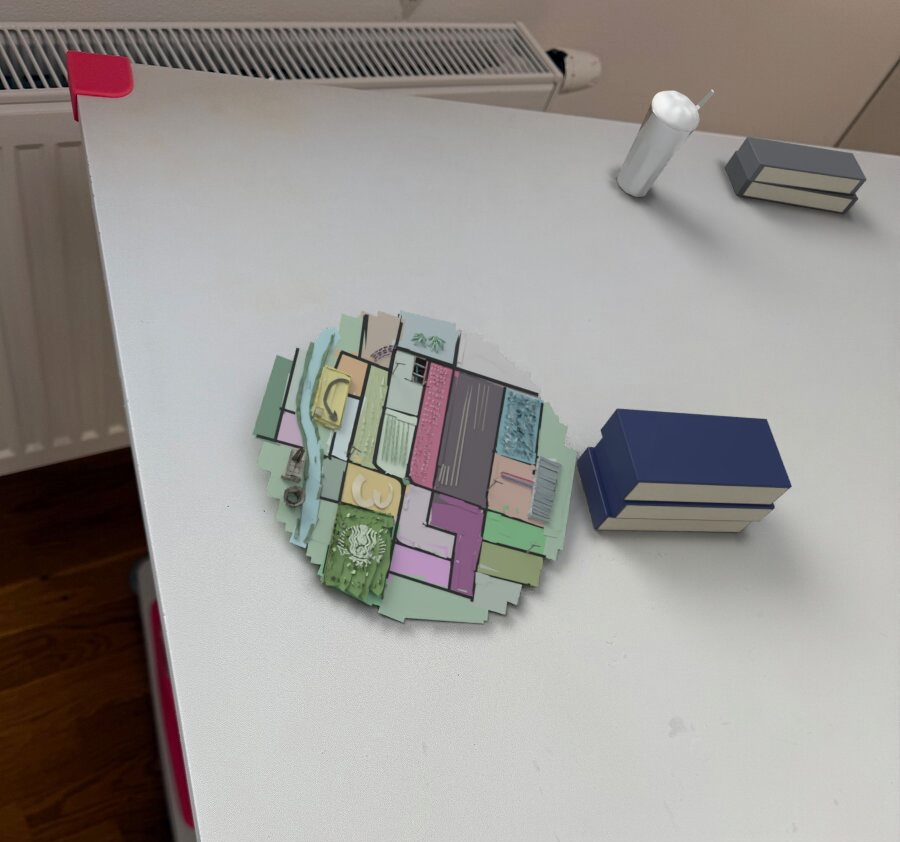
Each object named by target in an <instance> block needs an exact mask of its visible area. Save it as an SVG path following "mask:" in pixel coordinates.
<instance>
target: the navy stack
mask: <svg viewBox="0 0 900 842" xmlns="http://www.w3.org/2000/svg"><path fill="white" fill-rule="evenodd" d="M576 465H577V469H578V472H579V476H580V481H581V483H582V487H583V492H584V495H585V499H586V503H587V506H588V511H589V514H590V517H591V521H592V526H593V529H594V530H597V531H598V530H599V531H600V530H601V531H602V530H603V531H607V530H608V531H656V532H657V531H659V532H663V531H664V532H709V533H710V532H711V533H712V532H713V533H715V532H716V533H722V532H723V533H740V532H742V531H743V530H744V529H745V528H746V527H747V526H748V525H750V524H751V523H752V522H761V521H762V520H763V519H765V517H767V516H768V515H769V514H770V513H771V512H772V511H774V510H775V509H776V507H775V504H774V503H775V502H774V503H772V504H771V505H754V504H721V503H688V502H655V501H621V500H620V497H619V494H618V490H617V487H616V483H615V480H614V476H613V473H612V469H611V466H610V462H609V459H608V455H607V452H606V448H605V445H604V441H603V438H602V437H601V438H600V440H599V441H598V442H597V443H596V445H595V446H587V447H586V448H585V450H583V452H582V454H581V455H580V456H579V457H578V459H576Z"/></svg>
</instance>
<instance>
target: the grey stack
mask: <svg viewBox="0 0 900 842" xmlns="http://www.w3.org/2000/svg"><path fill="white" fill-rule="evenodd" d="M737 149H738V150H735V151H734V152H733V154H732V155H731V157H730V159H728V161H727V163H725V166H724V168H725V170H726V173H727V176H728V178H729V181H730V183H731V186H732V188H733V190H734V193H735V195H736V196H738V197H739V196H741V197H745V198H751V199H757V200H764V201H769V202H775V203H780V204H786V205H792V206H798V207H803V208H810V209H815V210H821V211H828V212H833V213H839V214H847V213H848V212H849V211H850V209H851V208H852V207H853V206H854V205H855V204H856V202H857V201H859V198H858V195H857V192H858V191H859V190H860V188H861V187H862V186H863V185H864V184H865V183H866V181H867V177H866V175H865V174H864V171H863V170H862V167H861V166H860V164H859V163H858V160H857V158H856V157H855V155H854V153H852V152H848V151H846V152H845V151H841V150H835V149H828V148H822V147H815V146H809V145H803V144H797V143H791V142H785V141H778V140H771V139H765V138H760V137H759V138H758V137H752V136H746V138H745V139H744V141H743V142H742V143H741V145H740V146H739V148H737Z"/></svg>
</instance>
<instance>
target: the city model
mask: <svg viewBox="0 0 900 842" xmlns="http://www.w3.org/2000/svg"><path fill="white" fill-rule="evenodd" d="M456 324H457V323H454V322H450V321H446V320H442V319H438V318H433V317H430V316H425V315H421V314H417V313H412V312H409V311H405V310H400V312H399V313H398V314H397V315H393V314H390V313H387V312H384V311H381V310H378V311H377V315H374V314H371V313H369V312H367V311H365V310H363V309H362V310H361V312H360V315H358V316H352V315H348V314H345V313H341V315H340V321H339V326H338V327H339V328H338V327H337V326H334V327H331V328H328V327H325V328H324V329H323V330H322V331H321V332H320V334H319V335H318V336H317V338H316V339H315V341H314V342H313V341H310V342H309V344H308V348H307V350H306V349H304V348H301V347H298V346H297V347H296V348H295V350H294V351H295V352H294V356H293V359H289V358H287V357H284V356H281V355H279V354H276V356H275V359H274V361H273V365H272V369H271V372H270V375H269V378H268V382H267V385H266V389H265V391H264V395H263V398H262V401H261V405H260V408H259V411H258V414H257V418H256V421H255V424H254V428H253V430H252V435H253V436H254V439H256V440H260V441H262V442H263V443H262V446H261V449H260V452H259V456H258V460H257V462H256V465H255V467H256V468H258V469H261V470H264V471H267V472H270V477H269V479H268V482H267V486H266V488H265V490H266V491H267V492H266V496H267V497H270V498H274V499H278V500H279V503H278V507H277V511H276V516H275V518H274V519H275V521H277V522H279V523H284V524H285V525H284V526H285V527H284V532H288V533H291V535H290V539H289V541H288V542H289V543H291V544H293V545H296V546H298V547H301V548H304V549H306V548H307V549H306V554H305V556H306V557H309V558H310V557H311V558H310V564H316V565H320V566H319V569H318V571H317V575H318V576H319V581H320V585H322V584H323V583H325V585H326V586H331V587H333V588H335V589H337V590H338V591H341V592H343V593H345V594H347V595H349V596H350V597H352V598H355V599H356V600H359V601H360V602H363V603H364V604H367V605H368V606H370V607H372V606H373V605H375V606H379V607H378V611H377V613H379V614H380V615H383V616H385V617H389V618H391V619H393V620H396V621H398V622H401V623H403V624H404V622H405V619H414V620H415V619H416V620H417V619H418V620H427V621H428V620H430V621H443V622H456V623H457V622H458V623H468V624H469V623H470V624H485V622H488V619H489V611H491V612H495V613H498V614H501V615H506V612H507V605H508V603H511V604H513V605H514V606H517V605H518V602H519V598H520V595H521V592H522V587H523V586H526V587H531V586H533V587H539V580H540V575H541V571H542V570H543V565H544V559H549V560H552V561H554V562H556V561H557V558H558V557H557V556H558V551H559V550H560V551H563V550H564V545H565V539H566V538H565V537H566V532H567V523H568V517H569V512H570V511H569V510H570V504H571V496H572V489H573V483H574V476H575V469H576V464H577V455H578V450H576V449H573V448H570V447H568V446H565V442H566V438H567V433H568V428H569V426H568V425H566V424H564V423H562V422H560V416H559V415H558V414H555V411H554V409H553V407H552V406H551V403H550V401H546V402H545V401H544V400H543V399H542V396H541V391H542V388H541V387H539V386H537V385H536V383H534V382H533V381H532V380H531V374H532V373H531V372H529V371H524V370H521V369H519V368H518V367H517V366H515V361H513V360H510V359H508V358H507V357H506V356H505V355H504V354H503V353H501V352H500V344H496V343H493V342H489V341H485V340H483V334H479V333H476V332H472V331H467V330H466V329H463V328H460V327H458V328H457V329H456V327H457V325H456ZM244 442H245V441H244ZM244 442H243V443H244ZM242 454H245V453H242Z"/></svg>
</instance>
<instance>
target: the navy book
mask: <svg viewBox="0 0 900 842" xmlns="http://www.w3.org/2000/svg"><path fill="white" fill-rule="evenodd" d="M599 431H600V433H601V434H600V435H601V438H603V441H604V445H605V448H606V452H607V455H608V459H609V462H610V466H611V469H612V473H613V476H614V480H615V483H616V487H617V490H618V494H619V497H620V500H621V501H655V502H688V503H721V504H754V505H771V504H772V503H775V502H776V501H778V499H779V498H781V497H782V496H783V495H784V494H785V493H786V492H787V491H789V490H790V489H791V488H792V487H793V486H792V483H791V480H790V477H789V475H788V472H787V470H786V466H785V464H784V461H783V458H782V456H781V453H780V450H779V448H778V445H777V442H776V440H775V437H774V435H773V431H772V430H771V426H770V423H769V421H768V419H767V418H759V417H743V416H729V415H716V414H702V413H691V412H689V413H688V412H674V411H662V410H661V411H660V410H648V409H647V410H645V409H630V408H616V409H615V410H614V412H612V414H611V415H610V417H608V420H606V422H605V423H604V424H603V426H602V427H601V428H600V430H599Z"/></svg>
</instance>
